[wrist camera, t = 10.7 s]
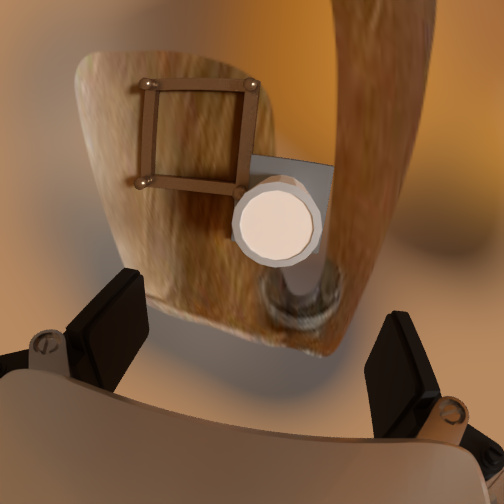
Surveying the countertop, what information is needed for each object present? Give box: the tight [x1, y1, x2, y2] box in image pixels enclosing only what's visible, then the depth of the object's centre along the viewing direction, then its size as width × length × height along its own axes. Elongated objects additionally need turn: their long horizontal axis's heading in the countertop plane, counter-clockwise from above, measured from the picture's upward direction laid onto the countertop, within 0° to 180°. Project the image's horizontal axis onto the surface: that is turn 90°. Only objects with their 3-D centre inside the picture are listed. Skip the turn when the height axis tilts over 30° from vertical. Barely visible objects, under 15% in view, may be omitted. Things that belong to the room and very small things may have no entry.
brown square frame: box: [134, 78, 261, 201], centre depth 27 cm, size 11×11×2 cm
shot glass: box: [232, 175, 322, 267], centre depth 26 cm, size 7×7×7 cm
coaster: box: [231, 154, 334, 254], centre depth 29 cm, size 9×9×1 cm
